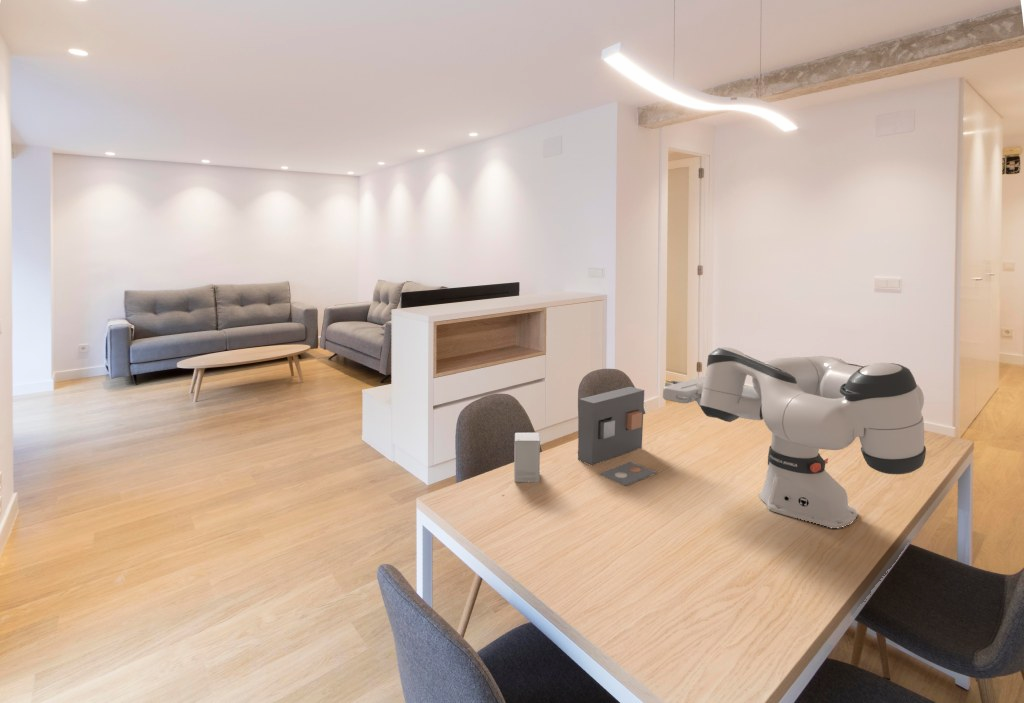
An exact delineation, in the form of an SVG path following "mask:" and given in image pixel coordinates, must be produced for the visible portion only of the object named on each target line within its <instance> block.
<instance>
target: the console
mask: <svg viewBox="0 0 1024 703" xmlns="http://www.w3.org/2000/svg"><path fill="white" fill-rule="evenodd" d="M644 407H645V390H644V389H641V388H637V387H634V386H627V387H623V388H618V389H615V390H610V391H606V392H602V393H599V394H594V395H593V394H592V395H591V396H586V397H582V398H579V400H578V437H577V438H578V440H577V442H578V445H577V460H578V461H580V460H581V461H580V462H582V461H583V462H582V463H584V462H585V464H586V465H589V464H590V465H589V466H591V465H592V466H595V465H598V464H601V463H603V461H604V462H606V461H609V460H611V459H614V458H617V457H620V456H623V455H625V454H628V453H631V452H635V451H637V450H640V449H643V429H644V409H645V408H644ZM634 410H636V411H639V412H642V425H641V427H640V428H637V429H633V430H629V429H626V416H627V412H631V411H634ZM606 418H610V419H613V420H615V436H611V437H608V438H605V439H602V438H599V437H598V425H599V420H603V419H606ZM600 462H601V463H600ZM597 463H598V464H597Z"/></svg>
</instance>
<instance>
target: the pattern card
mask: <svg viewBox="0 0 1024 703" xmlns="http://www.w3.org/2000/svg"><path fill="white" fill-rule="evenodd" d="M657 473H658V472H657V471H655V470H653V469H649V468H647V467H645V466H642V465H639V464H637V463H634V462H632V461H629V462H626V463H624V464H620V465H617V466H616V467H612V468H610V469H607V470H604V471H601V472H599V474H600V475H599V476H601V477H604V478H607V479H609V480H612V481H613V482H615V483H618V484H620V485H621V486H625V487H627V486H629V485H632V484H634V483H636V482H640V481H641V480H644V479H646V478H649V477H651V476H653V475H656V474H657Z"/></svg>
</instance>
